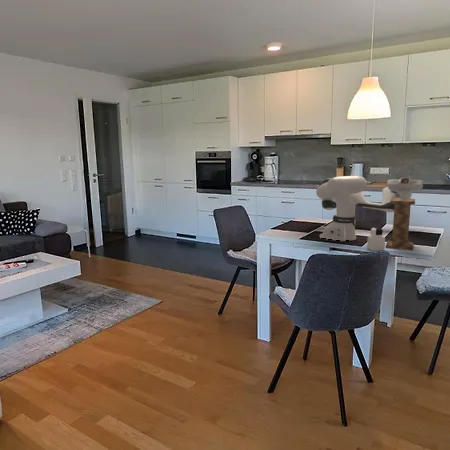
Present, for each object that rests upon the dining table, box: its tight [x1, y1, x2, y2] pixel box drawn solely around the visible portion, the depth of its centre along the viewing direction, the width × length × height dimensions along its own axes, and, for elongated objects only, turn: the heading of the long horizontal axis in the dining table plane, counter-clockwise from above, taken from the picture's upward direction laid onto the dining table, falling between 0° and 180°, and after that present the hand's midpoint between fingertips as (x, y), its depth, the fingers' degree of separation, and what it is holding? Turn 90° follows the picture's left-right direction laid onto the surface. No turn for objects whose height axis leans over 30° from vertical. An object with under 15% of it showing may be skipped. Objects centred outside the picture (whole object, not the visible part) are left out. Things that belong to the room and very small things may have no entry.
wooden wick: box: [400, 177, 410, 183], centre depth 233 cm, size 4×16×3 cm, turn 155°
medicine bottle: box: [366, 227, 386, 252], centre depth 215 cm, size 7×7×12 cm
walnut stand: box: [385, 198, 416, 251], centre depth 218 cm, size 14×12×27 cm
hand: (405, 179), depth 237 cm, fingers closed on wooden wick, 2 cm apart
